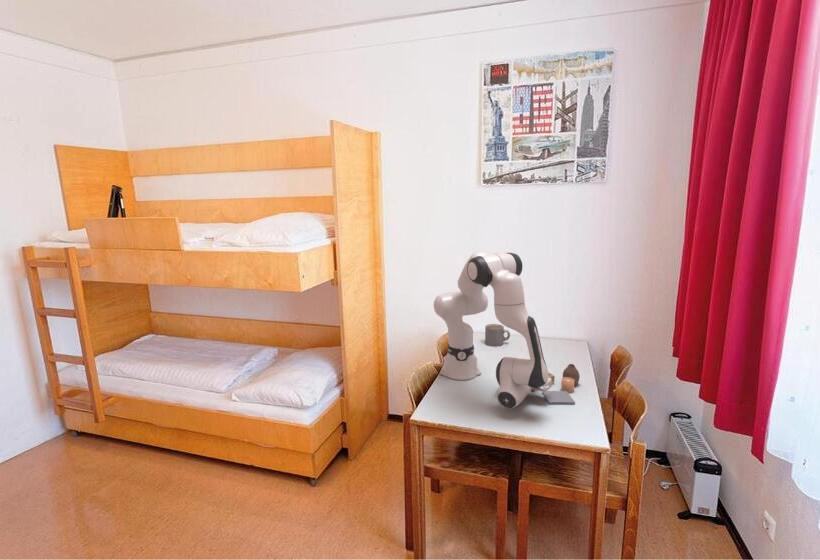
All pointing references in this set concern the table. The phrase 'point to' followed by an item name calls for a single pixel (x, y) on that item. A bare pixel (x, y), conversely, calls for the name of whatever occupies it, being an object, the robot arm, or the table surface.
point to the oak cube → (551, 377)
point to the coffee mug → (495, 335)
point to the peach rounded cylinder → (567, 384)
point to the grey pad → (558, 398)
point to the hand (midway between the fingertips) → (531, 372)
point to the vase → (572, 373)
